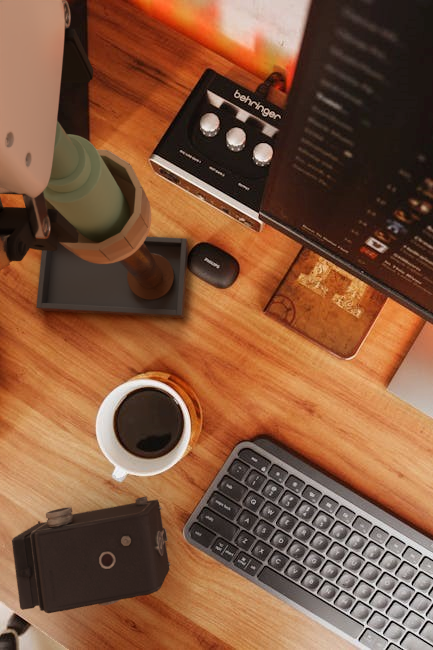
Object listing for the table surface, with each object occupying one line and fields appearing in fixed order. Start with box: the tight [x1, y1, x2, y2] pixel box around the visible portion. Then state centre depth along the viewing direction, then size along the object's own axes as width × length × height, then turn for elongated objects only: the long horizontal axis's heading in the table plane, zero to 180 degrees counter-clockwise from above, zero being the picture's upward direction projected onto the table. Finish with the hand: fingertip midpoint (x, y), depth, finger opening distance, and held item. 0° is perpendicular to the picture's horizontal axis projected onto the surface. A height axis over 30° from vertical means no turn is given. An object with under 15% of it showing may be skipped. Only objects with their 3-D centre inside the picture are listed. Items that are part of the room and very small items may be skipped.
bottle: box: [43, 120, 130, 242], centre depth 36 cm, size 4×4×14 cm
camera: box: [11, 496, 172, 614], centre depth 59 cm, size 11×11×15 cm
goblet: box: [45, 148, 175, 301], centre depth 53 cm, size 7×7×28 cm
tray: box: [36, 236, 189, 319], centre depth 67 cm, size 17×9×2 cm, turn 87°
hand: (60, 155), depth 32 cm, fingers open, 9 cm apart
